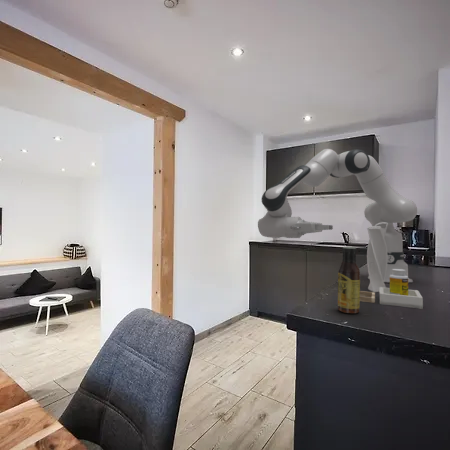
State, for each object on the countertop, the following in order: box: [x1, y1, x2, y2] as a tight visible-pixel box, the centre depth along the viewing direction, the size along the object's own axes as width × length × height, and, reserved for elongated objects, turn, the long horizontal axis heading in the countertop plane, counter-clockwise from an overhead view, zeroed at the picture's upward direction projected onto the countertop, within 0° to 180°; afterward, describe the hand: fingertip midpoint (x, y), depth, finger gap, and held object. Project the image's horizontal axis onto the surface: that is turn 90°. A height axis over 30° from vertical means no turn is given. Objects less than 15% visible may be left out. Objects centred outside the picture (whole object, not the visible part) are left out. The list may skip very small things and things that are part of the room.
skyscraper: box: [366, 222, 388, 293], centre depth 116 cm, size 8×8×28 cm
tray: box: [379, 287, 424, 310], centre depth 98 cm, size 12×12×4 cm
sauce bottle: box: [337, 246, 361, 314], centre depth 87 cm, size 7×6×20 cm
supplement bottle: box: [389, 269, 409, 296], centre depth 98 cm, size 6×6×10 cm
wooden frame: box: [360, 290, 376, 304], centre depth 104 cm, size 10×10×2 cm
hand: (330, 227), depth 111 cm, fingers open, 8 cm apart
